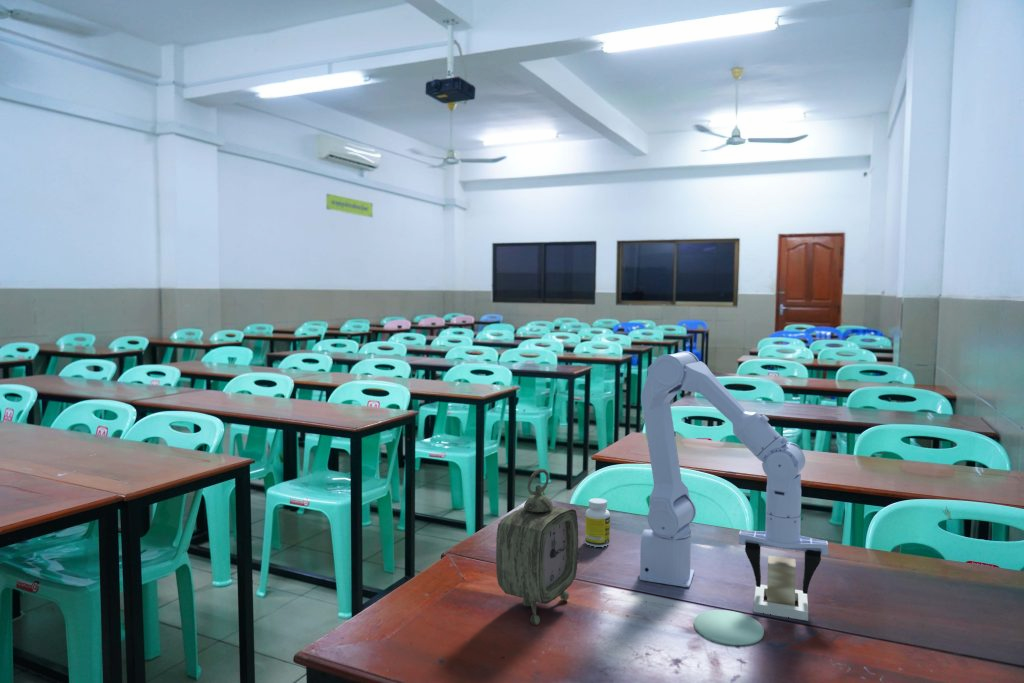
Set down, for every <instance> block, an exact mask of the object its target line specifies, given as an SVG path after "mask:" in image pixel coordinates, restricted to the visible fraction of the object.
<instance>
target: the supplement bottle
mask: <svg viewBox="0 0 1024 683" xmlns="http://www.w3.org/2000/svg"><path fill="white" fill-rule="evenodd" d="M588 507H589V508H588V509H586V511H585V521H584V522H585V526H584V530H585V531H584V532H585V534H584V535H585V536H584V542H585V544H586V545H587V544H588V545H591V546H594V547H593V548H596V547H602V546H606V547H608V546H609V545H610V541H611V540H610V539H611V538H610V537H611V536H610V534H611V530H610V529H611V513H610V511H609V510H608V500H607V499H605V498H599V497H596V498H590V499H589V500H588ZM608 544H609V545H608ZM588 545H587V546H588ZM607 545H608V546H607ZM591 546H590V547H591ZM602 548H603V547H602Z"/></svg>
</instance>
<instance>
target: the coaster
mask: <svg viewBox="0 0 1024 683" xmlns="http://www.w3.org/2000/svg"><path fill="white" fill-rule="evenodd" d="M693 625H694V628H695V630H696V632H698V633H699V634H700V635H701V636H702V637H704V638H706V639H708V640H710V641H713V642H716V643H719V644H722V645H723V644H724V645H728V646H729V645H730V646H749V645H753V644H756V643H759V642H760V641H761V640H762V639H763V637H764V633H765V632H764V626H763V625H762V624H761V623H760V621H758V620H757V619H755V618H754V617H751V616H750V615H746V614H744V613H742V612H738V611H733V610H727V609H712V610H706V611H702V612H700V613H699V614H697V615H696V616H695V617H694V620H693Z"/></svg>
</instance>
